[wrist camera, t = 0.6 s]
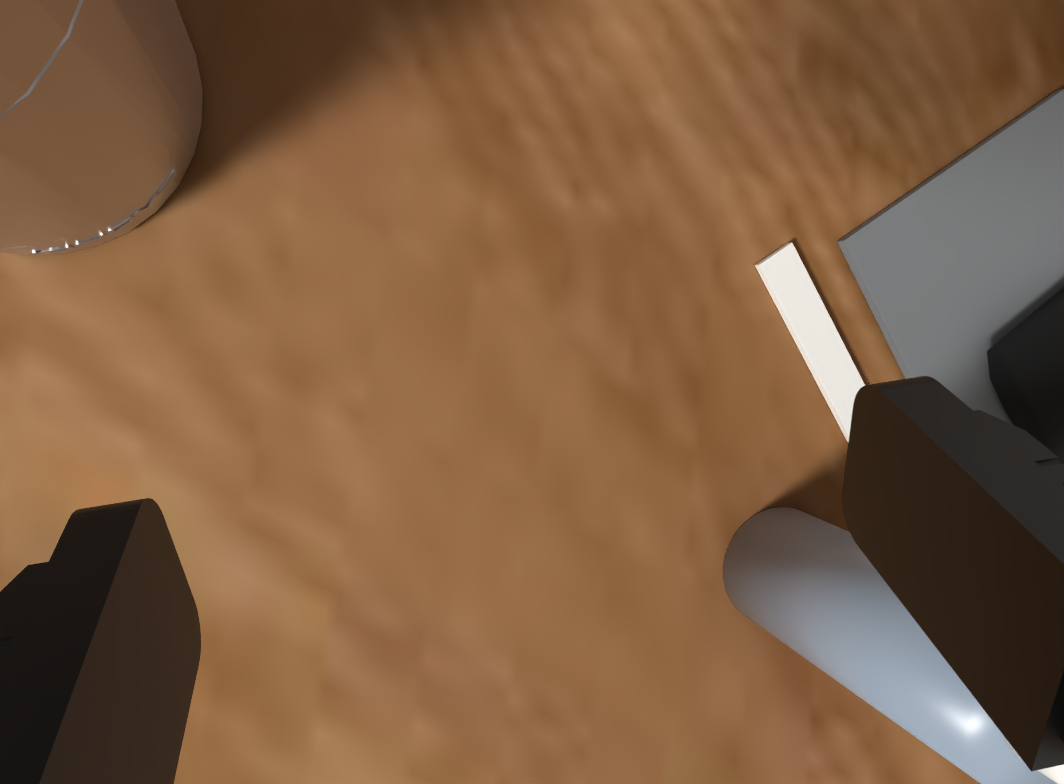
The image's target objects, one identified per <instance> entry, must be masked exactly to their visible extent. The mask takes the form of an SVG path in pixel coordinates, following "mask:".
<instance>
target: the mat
mask: <svg viewBox="0 0 1064 784" xmlns="http://www.w3.org/2000/svg"><path fill="white" fill-rule="evenodd" d="M837 242H838V244H839V246H840V248H841V250H842V252H843V254H844V256H845V258H846V260H847V262H848V264H849V266H850V268H851V270H852V272H853V274H854V276H855V278H856V280H857V282H858V284H859V287H860V289H861V291H862V293H863V295H864V297H865V299H866V301H867V303H868V305H869V307H870V309H871V311H872V313H873V315H874V317H875V319H876V321H877V323H878V325H879V327H880V329H881V331H882V333H883V335H884V337H885V339H886V341H887V343H888V345H889V347H890V349H891V351H892V353H893V355H894V357H895V359H896V361H897V363H898V365H899V367H900V369H901V371H902V373H903V375H904V377H905V379H908V378H914V377H921V376H929V377H932V378H934V379H936V380H937V381H938V382H940V383H941V384H942V385H943V386H944V387H946V388H947V389H948V390H949V391H950V392H952V393H953V394H954V395H955V396H956V397H958V398H959V399H960V400H961V401H962V402H964V403H965V404H966V405H967V406H968V407H970V408H971V409H972V410H973V411H975V410H981V411H983V412H985V413H988V414H990V415H992V416H994V417H997V418H999V419H1001V420H1003V421H1005V422H1008V423H1010V424H1012V425H1013V423H1012V421H1011V420H1010V418H1009V416H1008V415H1007V413H1006V411H1005V409H1004V408H1003V406H1002V404H1001V402H1000V399H999V397H998V395H997V393H996V391H995V389H994V387H993V384H992V382H991V380H990V376H989V367H988V358H987V351H988V350H989V349H990V348H991V347H992V346H994V345H995V344H996V343H997V342H998V341H999V340H1001V339H1002V338H1003V337H1004V336H1005V335H1007V334H1008V333H1009V332H1010V331H1011V330H1013V329H1014V328H1015V327H1016V326H1017V325H1019V324H1020V323H1021V322H1022V321H1023V320H1025V319H1026V318H1027V317H1028V316H1029V315H1031V314H1032V313H1033V312H1034V311H1035V310H1036V309H1038V308H1039V307H1040V306H1041V305H1042V304H1044V303H1045V302H1046V301H1047V300H1048V299H1050V298H1051V297H1052V296H1053V295H1054V294H1056V293H1057V292H1058V291H1059V290H1060V289H1062V288H1063V287H1064V89H1060V90H1057V91H1055V92H1054V93H1052V94H1051V95H1049V96H1048V97H1046V98H1045V99H1043V100H1042V101H1041V102H1039V103H1038V104H1036V105H1035V106H1033V107H1032V108H1030V109H1029V110H1027V111H1026V112H1025V113H1023V114H1022V115H1020V116H1019V117H1017V118H1016V119H1014V120H1013V121H1012V122H1010V123H1009V124H1007V125H1006V126H1004V127H1003V128H1001V129H1000V130H998V131H997V132H996V133H994V134H993V135H991V136H990V137H988V138H987V139H985V140H984V141H982V142H981V143H980V144H978V145H977V146H975V147H974V148H972V149H971V150H969V151H968V152H966V153H965V154H964V155H962V156H961V157H959V158H958V159H956V160H955V161H953V162H952V163H950V164H949V165H948V166H946V167H945V168H943V169H942V170H940V171H939V172H937V173H936V174H935V175H933V176H932V177H930V178H929V179H927V180H926V181H924V182H923V183H921V184H920V185H919V186H917V187H916V188H914V189H913V190H911V191H910V192H908V193H907V194H905V195H904V196H903V197H901V198H900V199H898V200H897V201H895V202H894V203H892V204H891V205H889V206H888V207H887V208H885V209H884V210H882V211H881V212H879V213H878V214H876V215H875V216H873V217H872V218H871V219H869V220H868V221H866V222H865V223H863V224H862V225H860V226H859V227H858V228H856V229H855V230H853V231H852V232H850V233H849V234H847V235H846V236H844V237H843V238H842V239H840V240H839V241H837Z"/></svg>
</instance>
